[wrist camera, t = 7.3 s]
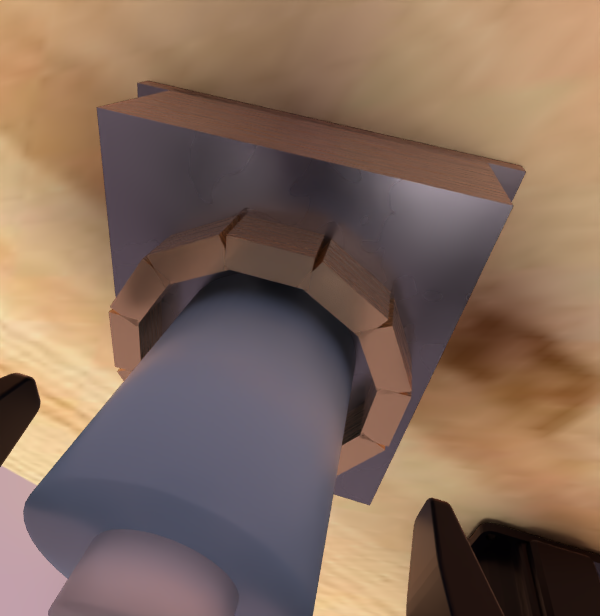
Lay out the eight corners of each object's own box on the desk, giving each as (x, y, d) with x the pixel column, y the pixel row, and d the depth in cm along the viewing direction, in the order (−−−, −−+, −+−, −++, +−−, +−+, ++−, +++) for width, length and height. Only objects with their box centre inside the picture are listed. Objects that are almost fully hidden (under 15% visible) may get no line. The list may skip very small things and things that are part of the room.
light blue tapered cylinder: (334, 433, 13) (273, 745, 7) (182, 389, 14) (13, 651, 8) (377, 301, 10) (332, 642, 4) (183, 251, 11) (-81, 503, 5)
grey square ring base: (400, 425, 18) (397, 548, 14) (157, 355, 19) (82, 450, 14) (521, 165, 12) (584, 242, 7) (148, 81, 13) (12, 104, 8)
